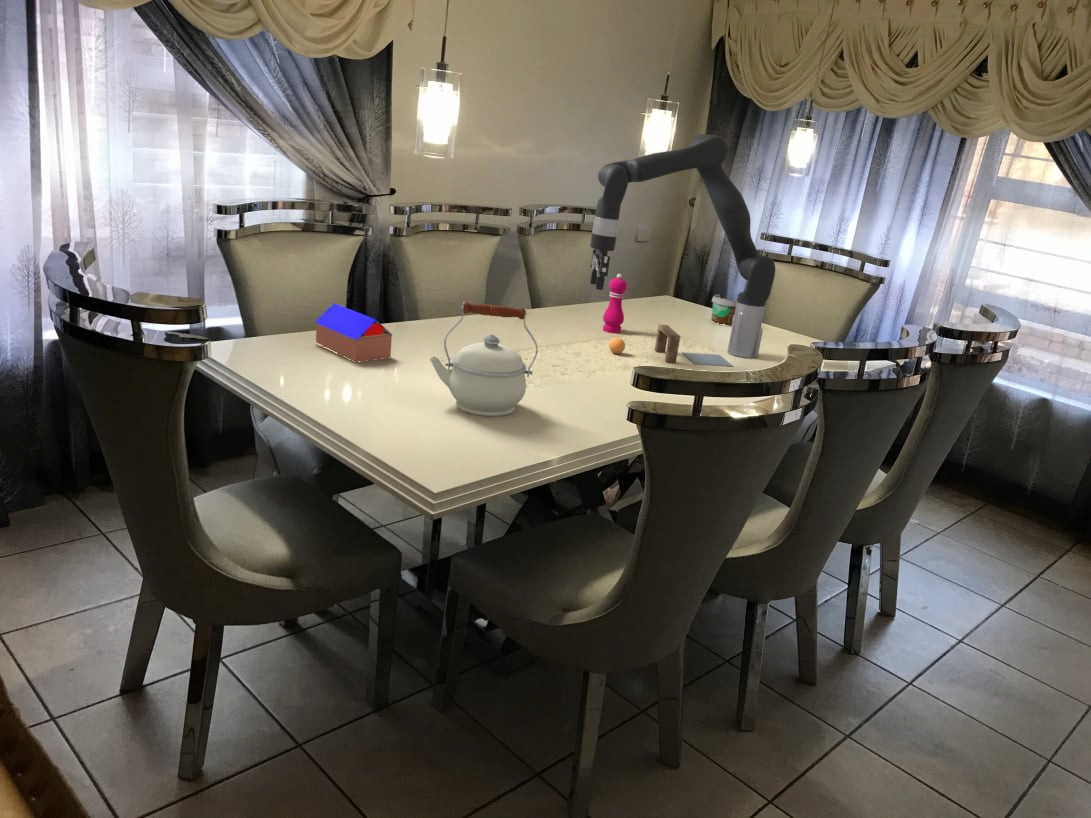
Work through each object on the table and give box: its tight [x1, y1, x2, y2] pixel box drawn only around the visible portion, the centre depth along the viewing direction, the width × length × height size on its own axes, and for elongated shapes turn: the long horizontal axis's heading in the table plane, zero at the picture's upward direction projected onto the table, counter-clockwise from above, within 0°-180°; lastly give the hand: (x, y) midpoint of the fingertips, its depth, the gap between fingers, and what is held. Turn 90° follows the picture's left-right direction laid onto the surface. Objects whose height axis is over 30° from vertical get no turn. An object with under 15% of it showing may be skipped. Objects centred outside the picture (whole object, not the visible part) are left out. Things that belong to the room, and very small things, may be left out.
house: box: [314, 303, 393, 363], centre depth 235 cm, size 12×20×12 cm, turn 46°
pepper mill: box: [602, 273, 628, 334], centre depth 292 cm, size 7×7×20 cm
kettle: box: [429, 301, 538, 417], centre depth 200 cm, size 25×18×25 cm
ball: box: [608, 337, 626, 355], centre depth 266 cm, size 5×5×5 cm
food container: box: [711, 294, 737, 326], centre depth 326 cm, size 12×6×10 cm, turn 25°
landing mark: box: [681, 351, 734, 368], centre depth 272 cm, size 13×13×1 cm
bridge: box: [654, 323, 681, 364], centre depth 268 cm, size 3×14×9 cm, turn 9°
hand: (596, 286), depth 259 cm, fingers open, 8 cm apart
